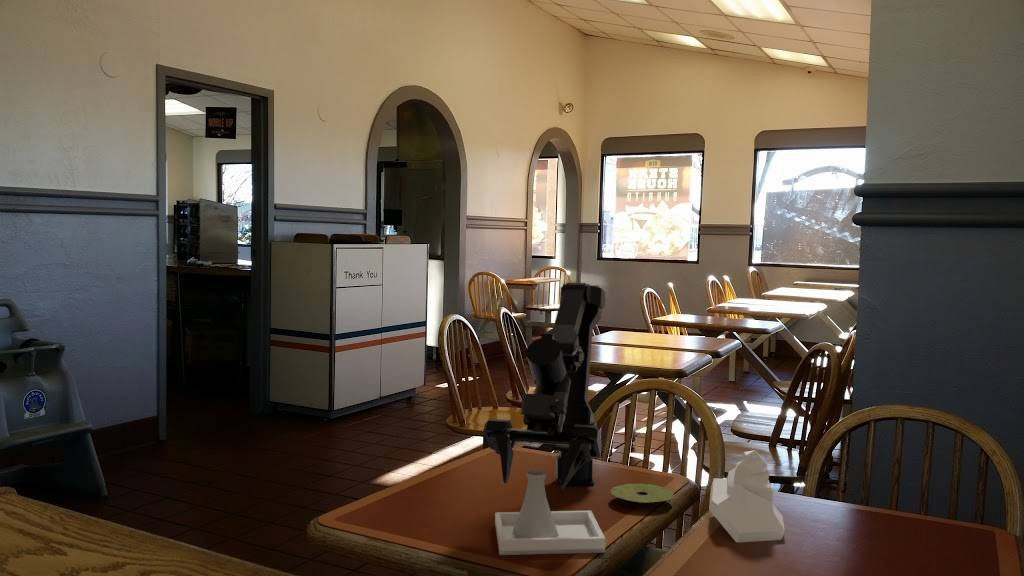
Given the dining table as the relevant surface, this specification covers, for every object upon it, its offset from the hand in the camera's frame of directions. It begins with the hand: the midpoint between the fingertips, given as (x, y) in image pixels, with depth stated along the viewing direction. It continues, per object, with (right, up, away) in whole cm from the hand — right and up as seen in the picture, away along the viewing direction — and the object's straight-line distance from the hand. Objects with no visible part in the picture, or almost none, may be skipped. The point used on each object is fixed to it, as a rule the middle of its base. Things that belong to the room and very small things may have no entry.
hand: (533, 484), depth 130 cm
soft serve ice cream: (+35, -9, +7) cm, 37 cm away
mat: (+20, -8, +20) cm, 30 cm away
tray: (+2, -9, +2) cm, 9 cm away
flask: (0, -9, +2) cm, 9 cm away
